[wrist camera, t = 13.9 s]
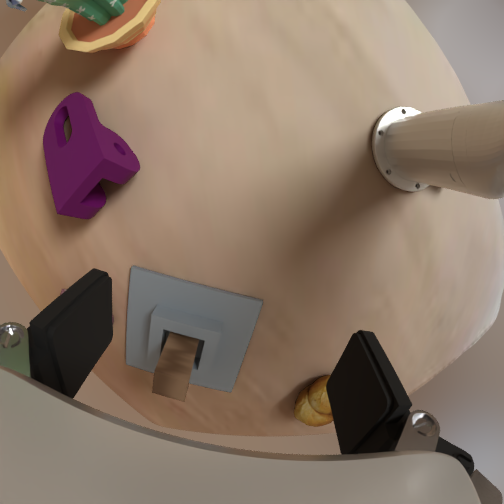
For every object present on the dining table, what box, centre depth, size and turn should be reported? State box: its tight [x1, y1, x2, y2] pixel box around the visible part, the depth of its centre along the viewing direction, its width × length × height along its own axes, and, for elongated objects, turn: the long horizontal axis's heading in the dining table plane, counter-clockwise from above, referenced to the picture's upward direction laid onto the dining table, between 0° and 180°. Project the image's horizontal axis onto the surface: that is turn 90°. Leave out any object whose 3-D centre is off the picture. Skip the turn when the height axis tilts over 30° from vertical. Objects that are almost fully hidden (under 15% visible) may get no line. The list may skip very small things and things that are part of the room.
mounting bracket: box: [43, 92, 140, 219], centre depth 31 cm, size 9×8×18 cm
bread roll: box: [294, 375, 334, 427], centre depth 44 cm, size 13×10×8 cm
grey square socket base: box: [126, 265, 263, 392], centre depth 41 cm, size 20×20×4 cm
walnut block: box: [152, 331, 199, 402], centre depth 36 cm, size 4×4×11 cm
